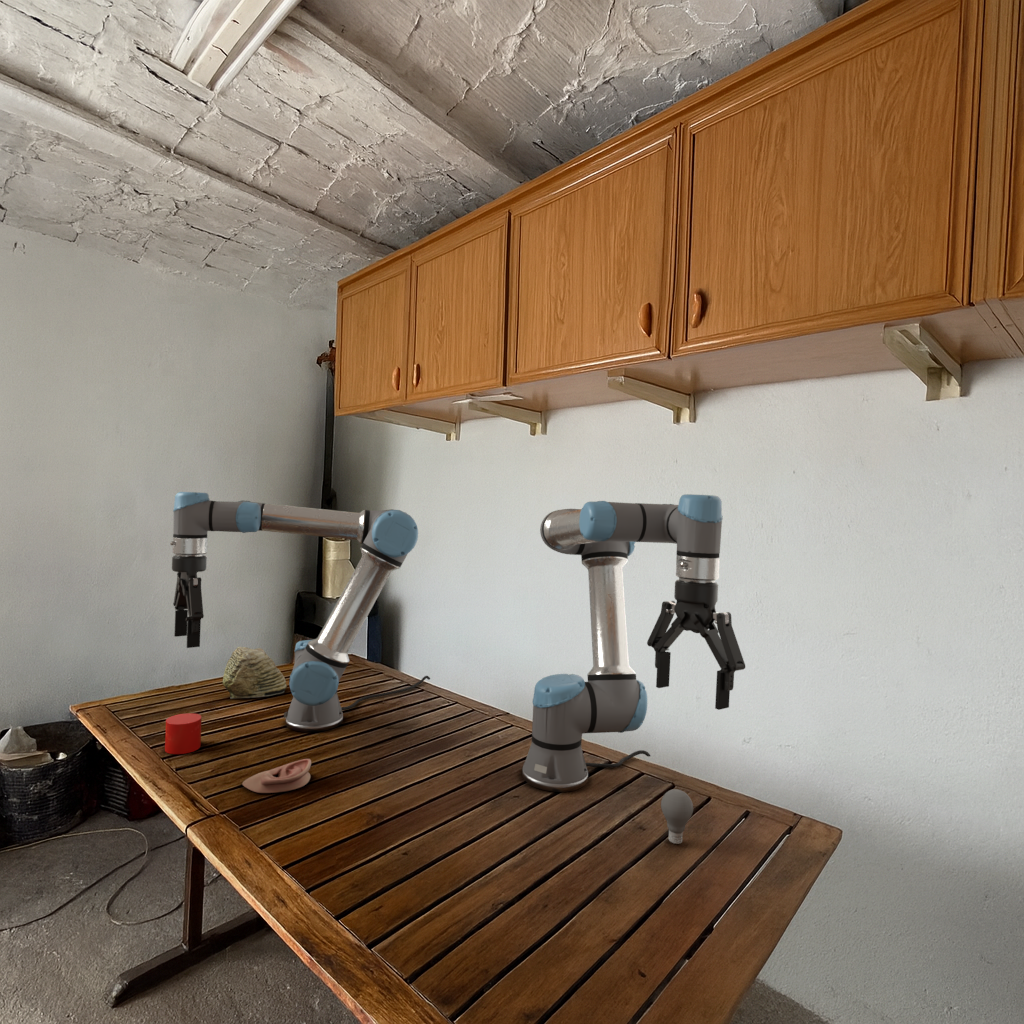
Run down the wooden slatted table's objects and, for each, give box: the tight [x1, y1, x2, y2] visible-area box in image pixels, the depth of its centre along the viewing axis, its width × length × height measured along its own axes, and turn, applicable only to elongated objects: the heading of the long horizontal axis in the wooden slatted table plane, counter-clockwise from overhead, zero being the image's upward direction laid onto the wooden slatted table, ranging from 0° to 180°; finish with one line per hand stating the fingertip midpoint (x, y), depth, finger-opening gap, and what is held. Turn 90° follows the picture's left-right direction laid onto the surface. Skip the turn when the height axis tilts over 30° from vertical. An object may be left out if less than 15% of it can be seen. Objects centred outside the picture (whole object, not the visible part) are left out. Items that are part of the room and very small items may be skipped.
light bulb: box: [660, 788, 694, 845], centre depth 121 cm, size 6×6×10 cm
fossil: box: [222, 646, 288, 699], centre depth 198 cm, size 9×18×15 cm, turn 132°
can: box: [164, 712, 203, 755], centre depth 156 cm, size 8×8×7 cm
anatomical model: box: [241, 758, 312, 794], centre depth 139 cm, size 13×4×12 cm
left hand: (186, 641), depth 155 cm, fingers open, 13 cm apart
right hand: (690, 697), depth 115 cm, fingers open, 13 cm apart
